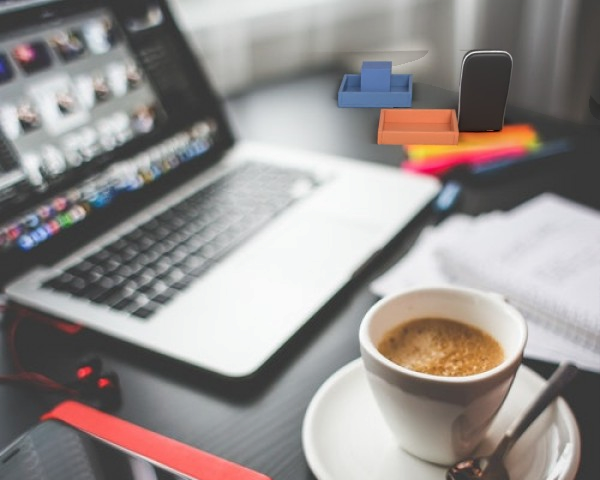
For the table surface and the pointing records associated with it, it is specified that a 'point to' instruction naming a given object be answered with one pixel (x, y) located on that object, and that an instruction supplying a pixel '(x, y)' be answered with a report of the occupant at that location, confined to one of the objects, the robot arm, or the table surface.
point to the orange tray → (418, 127)
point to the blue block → (376, 76)
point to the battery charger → (484, 89)
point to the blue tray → (375, 93)
